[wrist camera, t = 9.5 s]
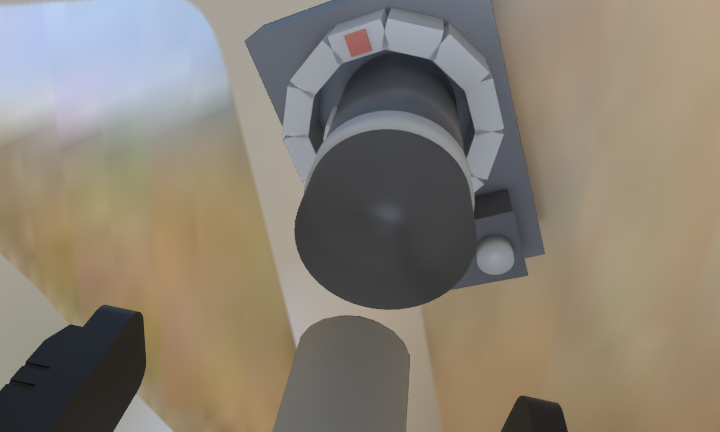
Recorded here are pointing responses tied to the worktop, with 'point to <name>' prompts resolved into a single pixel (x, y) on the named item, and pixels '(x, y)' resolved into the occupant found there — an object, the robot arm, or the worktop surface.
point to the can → (346, 379)
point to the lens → (390, 189)
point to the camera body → (461, 66)
